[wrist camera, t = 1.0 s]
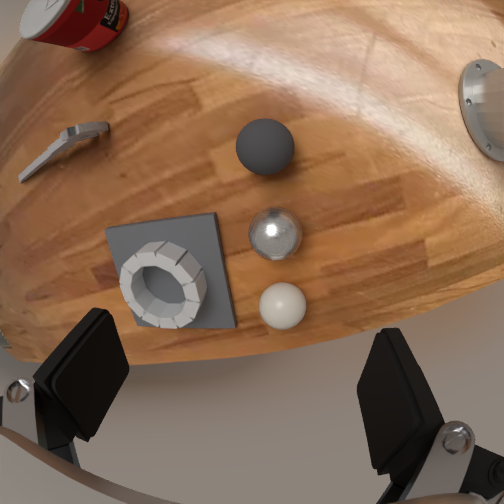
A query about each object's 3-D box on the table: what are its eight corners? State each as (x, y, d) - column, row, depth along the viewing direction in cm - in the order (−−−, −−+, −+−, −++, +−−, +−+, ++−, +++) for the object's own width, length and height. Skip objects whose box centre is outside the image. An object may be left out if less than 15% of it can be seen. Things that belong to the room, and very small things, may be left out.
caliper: (110, 120, 25) (74, 121, 19) (112, 129, 26) (76, 131, 20) (21, 176, 29) (-8, 186, 23) (22, 183, 30) (-7, 193, 24)
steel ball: (299, 199, 26) (301, 212, 22) (302, 246, 28) (305, 268, 24) (248, 203, 27) (240, 217, 23) (255, 250, 29) (248, 271, 24)
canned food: (135, 29, 20) (75, 0, 10) (83, 64, 22) (18, 54, 12) (125, -9, 18) (73, -41, 8) (76, 24, 19) (19, 9, 9)
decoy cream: (304, 272, 29) (306, 297, 25) (306, 310, 31) (307, 337, 27) (258, 275, 30) (253, 300, 26) (263, 312, 32) (259, 340, 27)
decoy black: (290, 118, 23) (291, 113, 19) (296, 169, 25) (298, 175, 21) (237, 124, 24) (226, 121, 20) (244, 174, 26) (235, 181, 21)
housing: (215, 212, 28) (204, 223, 24) (236, 323, 33) (230, 344, 29) (108, 226, 30) (89, 238, 26) (140, 321, 35) (127, 339, 32)
